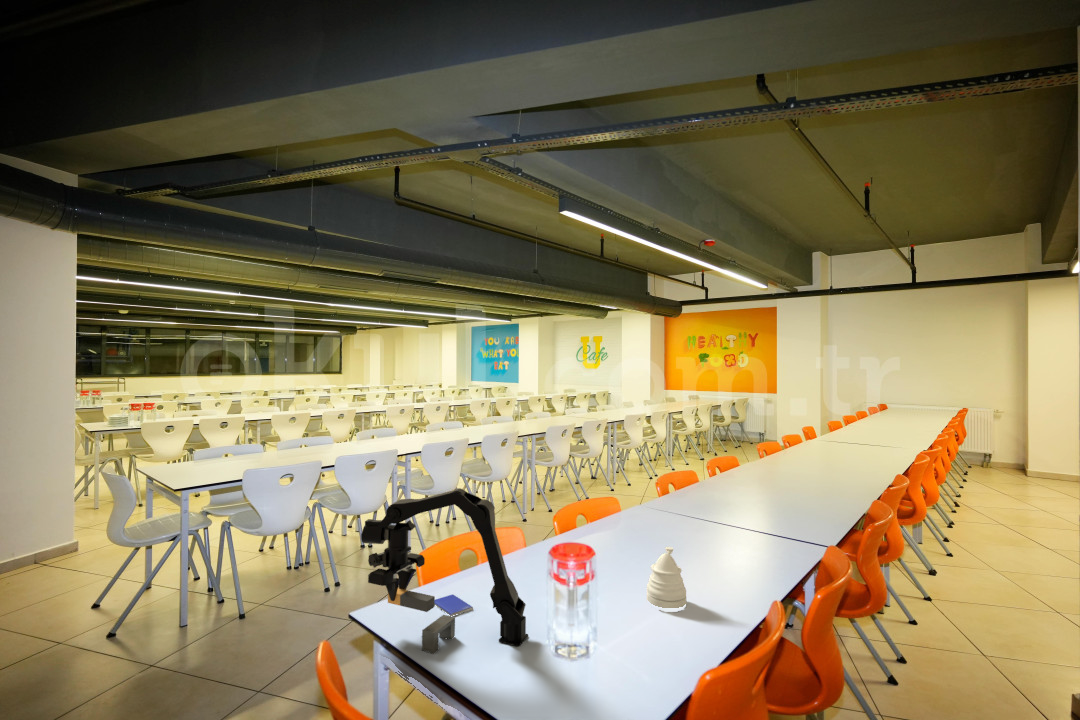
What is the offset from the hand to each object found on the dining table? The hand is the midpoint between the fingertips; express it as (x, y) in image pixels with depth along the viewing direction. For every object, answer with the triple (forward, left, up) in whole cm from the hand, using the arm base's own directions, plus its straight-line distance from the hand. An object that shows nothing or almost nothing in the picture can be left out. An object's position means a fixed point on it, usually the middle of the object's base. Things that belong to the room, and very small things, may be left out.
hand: (397, 598), depth 147 cm
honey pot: (-69, -53, -10) cm, 88 cm away
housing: (-15, 0, -10) cm, 18 cm away
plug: (-5, 0, -1) cm, 5 cm away
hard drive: (-5, -21, -11) cm, 24 cm away
